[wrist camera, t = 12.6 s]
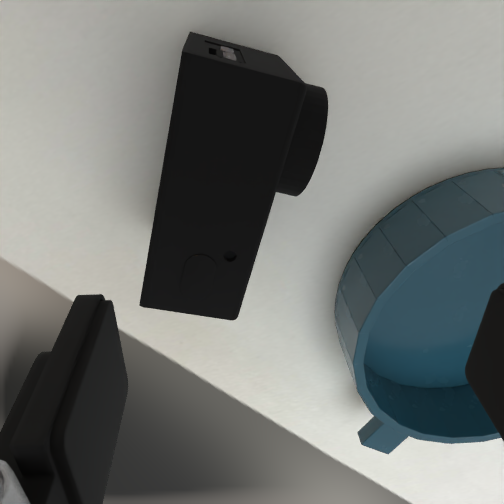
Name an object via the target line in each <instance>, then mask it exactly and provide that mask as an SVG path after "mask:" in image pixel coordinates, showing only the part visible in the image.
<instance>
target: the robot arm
mask: <svg viewBox="0 0 504 504" xmlns="http://www.w3.org/2000/svg"><path fill="white" fill-rule="evenodd" d="M465 375H466V379H467V381H468V383H469V384H470V386H471V388H472V389H473V391H474V393H475V394H476V396H477V398H478V399H479V401H480V403H481V404H482V406H483V408H484V409H485V411H486V413H487V414H488V416H489V418H490V419H491V421H492V423H493V424H494V426H495V428H496V429H497V431H498V432H499V434H500V436H501V437H502V439H503V441H504V283H503V284H501V285H500V286H498V288H497V289H495V290H493V291H492V293H491V295H490V298H489V301H488V304H487V306H486V309H485V312H484V315H483V318H482V321H481V323H480V326H479V329H478V332H477V335H476V337H475V340H474V343H473V346H472V349H471V352H470V354H469V357H468V360H467V363H466V366H465ZM127 392H128V378H127V373H126V368H125V363H124V358H123V353H122V348H121V342H120V337H119V332H118V327H117V322H116V317H115V312H114V306H113V302H112V301H111V300H105V298H104V296H103V295H102V294H100V295H78V296H77V297H76V298H75V300H74V302H73V305H72V307H71V309H70V312H69V314H68V316H67V318H66V320H65V322H64V325H63V327H62V329H61V331H60V334H59V336H58V338H57V340H56V342H55V345H54V347H53V349H52V351H51V352H41V353H40V354H39V355H38V356H37V358H36V359H35V361H34V363H33V365H32V367H31V370H30V372H29V374H28V376H27V378H26V380H25V382H24V384H23V386H22V389H21V390H20V392H19V394H18V397H17V399H16V401H15V403H14V405H13V407H12V409H11V411H10V413H9V415H8V417H7V419H6V421H5V423H4V425H3V428H2V430H1V432H0V504H102V503H103V499H104V494H105V490H106V486H107V481H108V476H109V472H110V468H111V464H112V459H113V455H114V450H115V446H116V441H117V437H118V432H119V428H120V423H121V419H122V415H123V410H124V406H125V402H126V397H127Z"/></svg>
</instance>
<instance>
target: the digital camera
mask: <svg viewBox="0 0 504 504" xmlns="http://www.w3.org/2000/svg"><path fill="white" fill-rule="evenodd" d="M327 116H328V98H327V93H326V91H325V89H324V88H322V87H318V86H314V85H310V84H306V83H304V82H303V81H302V80H301V79H300V78H299V77H298V76H297V75H296V73H295V72H294V71H293V70H292V69H291V68H290V67H289V66H288V65H287V64H286V63H285V62H284V61H283V60H282V59H281V58H280V57H279V56H277V55H274V54H270V53H266V52H263V51H259V50H255V49H252V48H248V47H244V46H241V45H237V44H233V43H230V42H226V41H222V40H219V39H215V38H212V37H208V36H204V35H201V34H196V33H193V32H190V33H189V35H188V38H187V40H186V43H185V45H184V47H183V50H182V56H181V61H180V67H179V73H178V79H177V85H176V91H175V97H174V103H173V109H172V115H171V121H170V127H169V133H168V139H167V145H166V150H165V156H164V162H163V168H162V174H161V180H160V186H159V192H158V198H157V204H156V210H155V216H154V222H153V228H152V234H151V240H150V246H149V252H148V258H147V264H146V269H145V275H144V281H143V287H142V293H141V299H140V305H139V306H142V307H146V308H153V309H160V310H167V311H173V312H180V313H186V314H193V315H200V316H206V317H213V318H220V319H226V320H235V319H237V317H238V314H239V311H240V308H241V305H242V301H243V298H244V295H245V291H246V288H247V285H248V282H249V278H250V275H251V272H252V269H253V265H254V262H255V259H256V255H257V252H258V249H259V246H260V242H261V239H262V236H263V232H264V229H265V226H266V223H267V219H268V216H269V213H270V209H271V206H272V203H273V200H274V196H275V193H276V192H279V193H283V194H288V195H292V196H298V195H300V194H301V193H302V192H303V190H304V189H305V188H306V186H307V184H308V183H309V181H310V179H311V177H312V174H313V172H314V169H315V167H316V164H317V162H318V158H319V155H320V152H321V148H322V145H323V141H324V136H325V131H326V125H327Z"/></svg>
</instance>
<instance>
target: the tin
mask: <svg viewBox="0 0 504 504" xmlns="http://www.w3.org/2000/svg"><path fill="white" fill-rule="evenodd" d="M503 283H504V168H496V169H486V170H481V171H475V172H470V173H466V174H463V175H460V176H457V177H453V178H450V179H447V180H445V181H443V182H440V183H438V184H436V185H433V186H431V187H429V188H427V189H425V190H423V191H422V192H420V193H418V194H416V195H414V196H413V197H411V198H409V199H408V200H406V201H405V202H404V203H402V204H401V205H399V206H398V207H397V208H395V209H394V210H392V211H391V212H390V213H389V214H388V215H387V216H386V217H384V218H383V219H382V220H381V221H380V222H379V223H378V224H377V225H376V226H375V227H374V228H373V229H372V230H371V231H370V232H369V234H368V235H367V236H366V237H365V238H364V239H363V241H362V242H361V243H360V245H359V246H358V248H357V249H356V250H355V252H354V253H353V255H352V257H351V259H350V260H349V262H348V264H347V266H346V268H345V270H344V273H343V275H342V278H341V280H340V283H339V287H338V291H337V296H336V302H335V321H336V328H337V332H338V335H339V341H340V344H341V347H342V350H343V353H344V355H345V358H346V361H347V364H348V366H349V369H350V372H351V375H352V377H353V380H354V383H355V386H356V389H357V391H358V393H359V395H360V396H361V398H362V399H363V401H364V403H365V404H366V406H367V408H368V409H369V411H370V412H371V414H373V415H374V417H373V418H372V419H371V420H370V421H369V422H368V423H367V424H366V425H365V426H364V427H363V428H362V429H360V430H359V431H358V435H359V438H360V442H361V444H362V445H364V446H367V447H369V448H372V449H375V450H378V451H380V452H383V453H386V454H389V453H390V452H392V451H393V450H394V449H395V448H396V447H397V446H398V445H399V444H400V443H402V442H403V441H404V440H405V439H406V438H407V437H408V436H410V437H413V438H415V439H419V440H425V441H433V442H440V443H449V444H452V443H471V442H484V441H488V440H493V439H497V438H502V437H501V436H500V434H499V432H498V431H497V429H496V428H495V426H494V424H493V423H492V421H491V419H490V418H489V416H488V414H487V413H486V411H485V409H484V408H483V406H482V404H481V403H480V401H479V399H478V398H477V396H476V394H475V393H474V391H473V389H472V388H471V386H470V384H469V383H468V381H467V379H466V375H465V366H466V363H467V360H468V357H469V354H470V352H471V349H472V346H473V343H474V340H475V337H476V335H477V332H478V329H479V326H480V323H481V321H482V318H483V315H484V312H485V309H486V306H487V304H488V301H489V298H490V295H491V293H492V291H493V290H495V289H497V288H498V286H500V285H501V284H503Z"/></svg>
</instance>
